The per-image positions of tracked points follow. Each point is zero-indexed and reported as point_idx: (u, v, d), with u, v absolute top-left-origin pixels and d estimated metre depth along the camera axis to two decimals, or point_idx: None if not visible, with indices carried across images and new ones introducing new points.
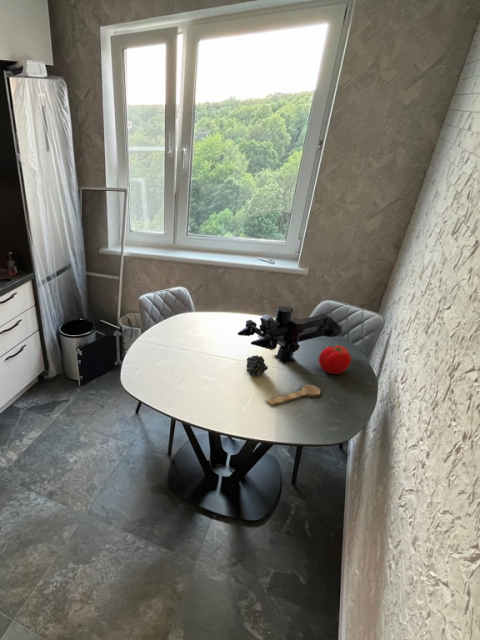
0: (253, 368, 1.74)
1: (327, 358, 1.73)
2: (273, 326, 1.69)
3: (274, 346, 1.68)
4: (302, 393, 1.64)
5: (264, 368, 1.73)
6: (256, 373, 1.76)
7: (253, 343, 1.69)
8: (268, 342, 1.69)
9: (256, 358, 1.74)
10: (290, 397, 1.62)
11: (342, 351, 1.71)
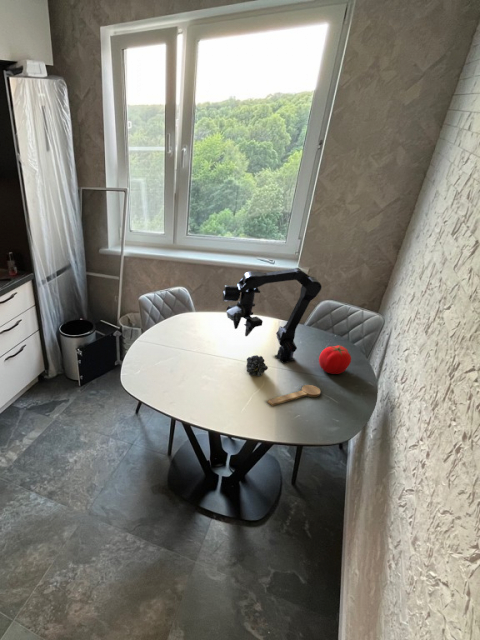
0: (253, 368, 1.74)
1: (327, 358, 1.73)
2: (240, 317, 1.74)
3: (259, 324, 1.73)
4: (302, 393, 1.64)
5: (264, 368, 1.73)
6: (256, 373, 1.76)
7: (247, 334, 1.81)
8: None
9: (256, 358, 1.74)
10: (290, 397, 1.62)
11: (342, 351, 1.71)
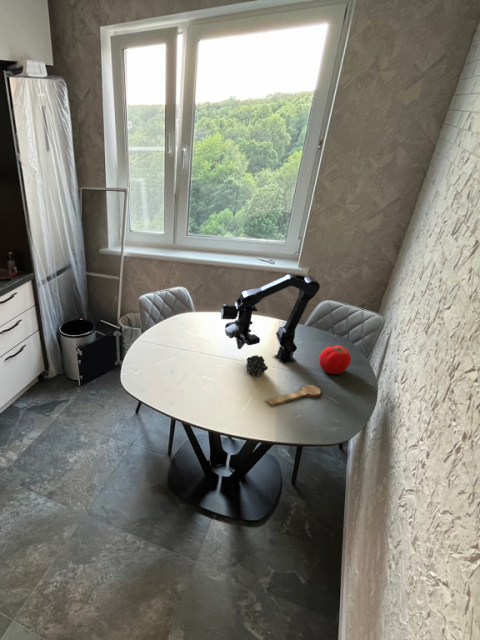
0: (253, 368, 1.74)
1: (327, 358, 1.73)
2: (238, 335, 1.79)
3: (257, 341, 1.77)
4: (302, 393, 1.64)
5: (264, 368, 1.73)
6: (256, 373, 1.76)
7: (240, 347, 1.88)
8: None
9: (256, 358, 1.74)
10: (290, 397, 1.62)
11: (342, 351, 1.71)
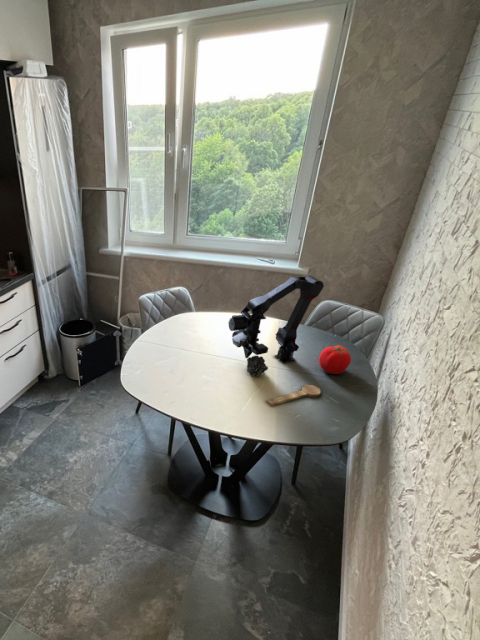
0: (253, 368, 1.74)
1: (327, 358, 1.73)
2: (245, 344, 1.75)
3: (265, 351, 1.73)
4: (302, 393, 1.64)
5: (264, 368, 1.73)
6: (256, 373, 1.76)
7: (247, 356, 1.84)
8: None
9: (256, 358, 1.74)
10: (290, 397, 1.62)
11: (342, 351, 1.71)
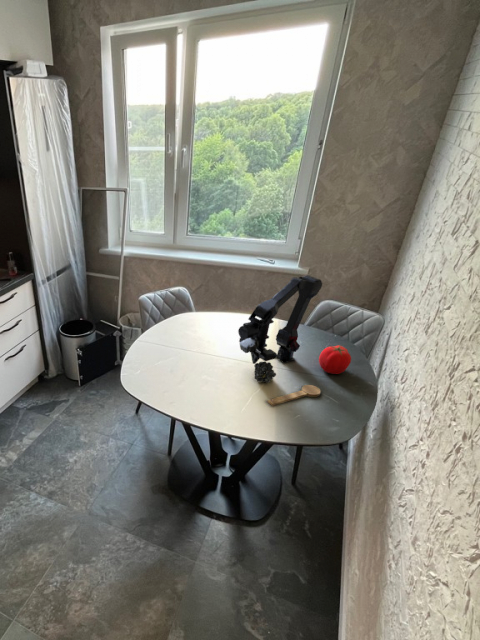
0: (261, 375, 1.70)
1: (327, 358, 1.73)
2: (253, 350, 1.70)
3: (273, 357, 1.69)
4: (302, 393, 1.64)
5: (272, 375, 1.68)
6: (264, 380, 1.72)
7: (255, 362, 1.80)
8: None
9: (264, 364, 1.70)
10: (290, 397, 1.62)
11: (342, 351, 1.71)
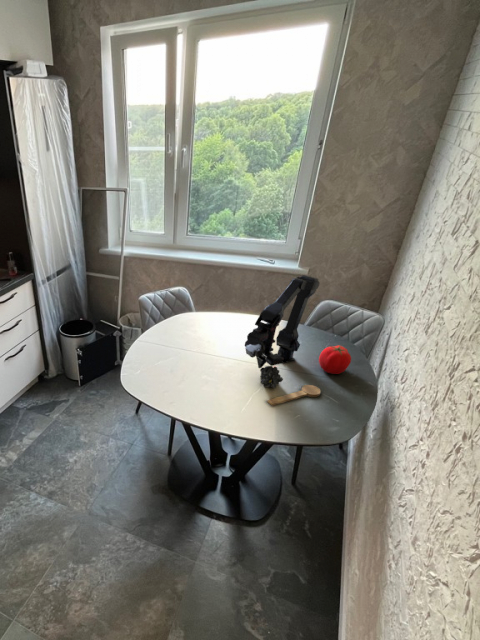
0: (267, 380, 1.66)
1: (327, 358, 1.73)
2: (260, 354, 1.67)
3: (280, 361, 1.66)
4: (302, 393, 1.64)
5: (279, 380, 1.65)
6: (270, 385, 1.69)
7: (261, 366, 1.77)
8: None
9: (271, 369, 1.67)
10: (290, 397, 1.62)
11: (342, 351, 1.71)
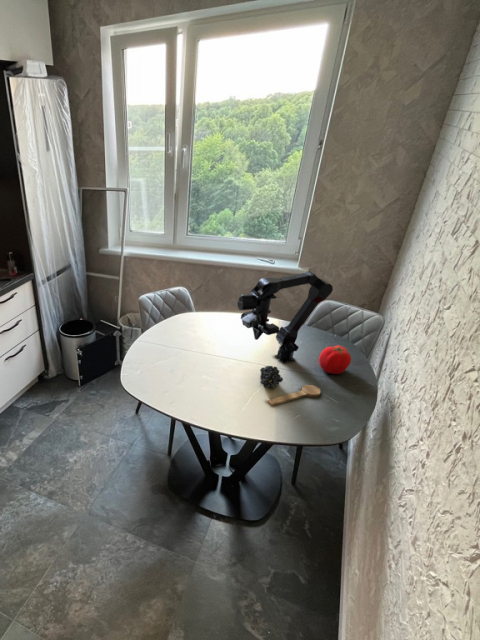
0: (267, 380, 1.66)
1: (327, 358, 1.73)
2: (256, 324, 1.71)
3: (276, 331, 1.70)
4: (302, 393, 1.64)
5: (279, 380, 1.65)
6: (270, 385, 1.69)
7: (257, 338, 1.80)
8: None
9: (271, 369, 1.67)
10: (290, 397, 1.62)
11: (342, 351, 1.71)
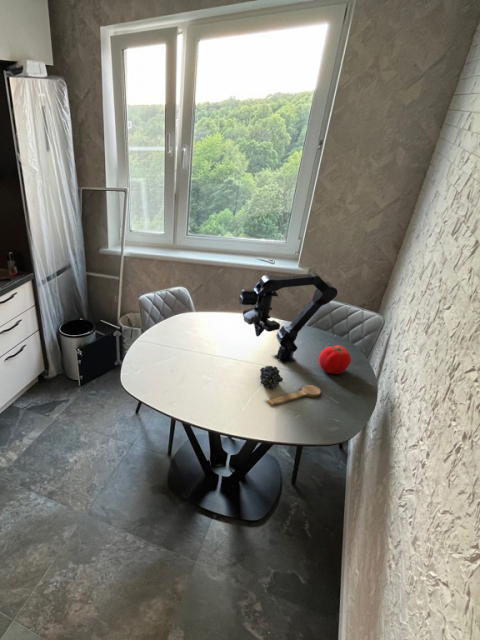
0: (267, 380, 1.66)
1: (327, 358, 1.73)
2: (257, 321, 1.73)
3: (277, 327, 1.72)
4: (302, 393, 1.64)
5: (279, 380, 1.65)
6: (270, 385, 1.69)
7: (259, 334, 1.83)
8: None
9: (271, 369, 1.67)
10: (290, 397, 1.62)
11: (342, 351, 1.71)
